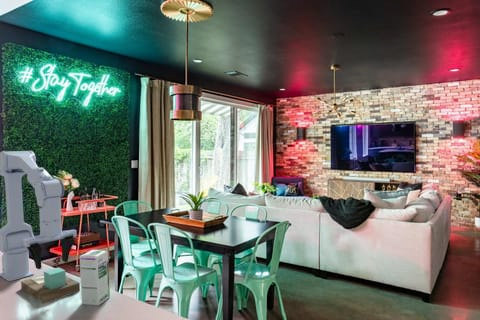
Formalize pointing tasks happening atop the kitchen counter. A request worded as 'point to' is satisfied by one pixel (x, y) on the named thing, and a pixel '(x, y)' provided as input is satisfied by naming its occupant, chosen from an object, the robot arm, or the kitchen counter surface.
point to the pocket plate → (43, 294)
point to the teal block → (54, 278)
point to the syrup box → (94, 277)
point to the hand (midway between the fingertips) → (52, 264)
